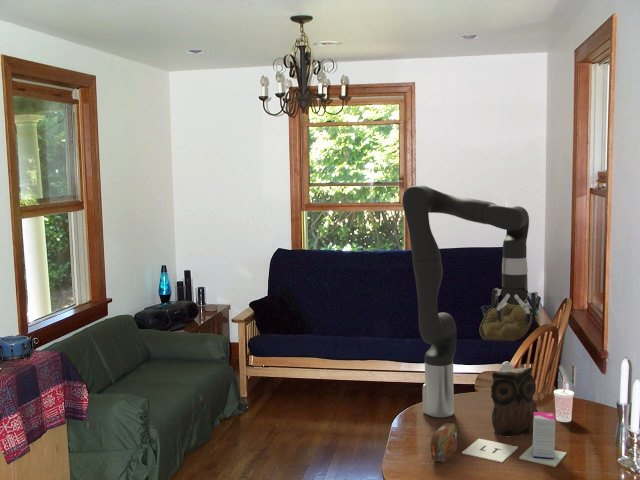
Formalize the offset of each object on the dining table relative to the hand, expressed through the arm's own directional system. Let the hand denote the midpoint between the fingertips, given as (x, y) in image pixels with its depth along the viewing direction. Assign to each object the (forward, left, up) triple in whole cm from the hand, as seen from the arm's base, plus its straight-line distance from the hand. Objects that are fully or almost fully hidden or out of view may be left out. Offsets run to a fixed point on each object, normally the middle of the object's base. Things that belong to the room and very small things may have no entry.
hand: (514, 323), depth 227 cm
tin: (-7, -34, -32) cm, 48 cm away
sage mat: (+16, -20, -32) cm, 41 cm away
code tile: (+2, -24, -32) cm, 40 cm away
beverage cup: (+12, +11, -32) cm, 36 cm away
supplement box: (+16, -20, -32) cm, 41 cm away
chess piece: (-8, +16, -32) cm, 37 cm away
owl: (+1, -5, -32) cm, 33 cm away
